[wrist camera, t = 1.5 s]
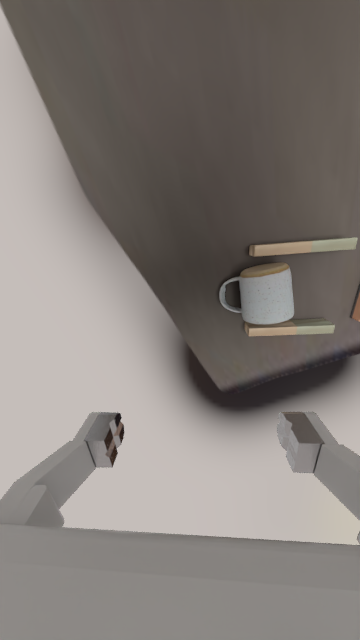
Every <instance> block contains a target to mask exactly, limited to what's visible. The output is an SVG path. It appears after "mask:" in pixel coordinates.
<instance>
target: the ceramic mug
mask: <svg viewBox="0 0 360 640" xmlns="http://www.w3.org/2000/svg"><path fill="white" fill-rule="evenodd" d="M237 280H238V281H239V285H240V293H241V308H235V307H232V306H230V305H228V304H227V303H226V301H225V291H226V288H225V286H226V285H227V284H228V283H229V282H233V281H237ZM219 299H220V302H221V304H222V305H223V306H224V307H225V308H226V309H228V310H230V311H233V312H237V313H242V318H243V319H244V320H245V321H246V322H249V323H253V324H276V323H280V322H284V321H287V320H289V319H291V318H292V317H293V315H294V304H293V291H292V278H291V271H290V268H289V266H288V265H287V264H286V263H282V262H278V263H269V264H262V265H258V266H254V267H250V268H247V269H245V270H243V271H242V272H241V274H240V277H234V278H231V279H229V280H227V281H226V282H225V283H224V284H223V285H222V286H221V288H220V292H219Z"/></svg>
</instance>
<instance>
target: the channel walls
mask: <svg viewBox="0 0 360 640" xmlns="http://www.w3.org/2000/svg"><path fill="white" fill-rule="evenodd" d="M357 240H358V238H335V239H323V240H311V241H298V242H286V243H274V244H261V245H250V246H249V255H250V256H254V257H255V256H268V255H282V254H295V253H308V252H321V251H335V250H348V249H355V247H356V243H357ZM334 327H335V325H334V324H332V323H331V322H329V321H327V320H326V319H324V318H321V319H298V320H287V321H284V322H280V323H276V324H253V323H249V322H245V331H246V332H247V334H248V336H270V335H296V334H323V333H333V331H334Z"/></svg>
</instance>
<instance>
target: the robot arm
mask: <svg viewBox="0 0 360 640" xmlns="http://www.w3.org/2000/svg"><path fill="white" fill-rule="evenodd" d="M120 420H121V414H120V413H108V412H107V413H106V412H92V413H91V414H89V416H88V418H87V419H86V420H85V422H84V424H83V425H82V427H81V428H80V430H79V431H78V433H77V435H76V436H75V438H74V439H73V441H69V442H68V443H66V444H65V445H64V446H62V447H61V448H60V449H58V450H57V451H56V452H54V453H53V454H52V455H50V456H49V457H48V458H46V459H45V460H44V461H42V462H41V463H40V464H38V465H37V466H36V467H34V468H33V469H32V470H30V471H29V472H28V473H26V474H25V475H24V476H22V477H21V478H20V479H18V480H17V481H16V482H14V483H13V485H12V486H11V487H10V489H9V490H8V491H7V493H6V494H5V495H4V496H3V498H2V499H1V500H0V640H360V545H346V544H330V543H328V544H327V543H314V542H296V541H279V540H264V539H248V538H231V537H213V536H198V535H181V534H165V533H149V532H131V531H115V530H98V529H82V528H81V529H80V528H65V527H62V526H63V524H64V518H63V516H62V514H61V513H60V511H59V509H60V507H61V506H62V505H63V504H64V503H65V502H66V501H67V499H68V498H70V496H71V495H72V494H73V493H74V492H75V491H76V490H77V489H78V488H79V486H80V485H81V484H82V483H83V482H84V481H85V480H86V479H87V478H88V476H89V475H90V474H91V473H92V472H93V471H94V470H95V467H113V464H114V461H115V459H116V456H117V454H118V452H117V448H118V447H119V446H120V445H121V443H122V440H123V436H124V425H123V424H122V423H121V422H120ZM279 420H280V423H279V424H278V425H277V433H278V438H279V441H280V444H281V446H282V447H283V448H284V449H285V450H286V451H287V454H286V457H287V460H288V462H289V464H290V466H291V468H292V471H293V472H299V473H314V475H315V476H316V477H317V478H318V479H319V480H320V481H321V482H322V483H323V484H324V485H325V486H326V487H327V488H328V489H329V490H330V491H331V492H332V493H333V494H334V495H335V496H336V497H337V498H338V499H339V500H340V501H341V502H342V503H343V504H344V505H345V506H346V507H347V508H348V509H349V510H350V511H351V512H352V513H353V514H354V515H355V516H356V517H357V518H358V519H359V520H360V456H359V455H357V454H356V453H354V452H353V451H351V450H350V449H348V448H347V447H345V446H344V445H339V444H338V442H337V441H336V440H335V438H334V437H333V436H332V435H331V433H330V432H329V430H328V429H327V428H326V426H325V425H324V424H323V422H322V421H321V420H320V418H319V417H318V416H317V414H316V413H314V412H281V413H280V414H279ZM357 540H358V542H359V544H360V532H359V534H358V537H357Z"/></svg>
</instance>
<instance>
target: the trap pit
mask: <svg viewBox="0 0 360 640" xmlns="http://www.w3.org/2000/svg"><path fill="white" fill-rule="evenodd" d="M350 317H351V318H353V319H355V320H357V321H359V322H360V285H359V289H358V292H357V296H356V299H355V302H354V306H353V309H352V313H351V316H350Z"/></svg>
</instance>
